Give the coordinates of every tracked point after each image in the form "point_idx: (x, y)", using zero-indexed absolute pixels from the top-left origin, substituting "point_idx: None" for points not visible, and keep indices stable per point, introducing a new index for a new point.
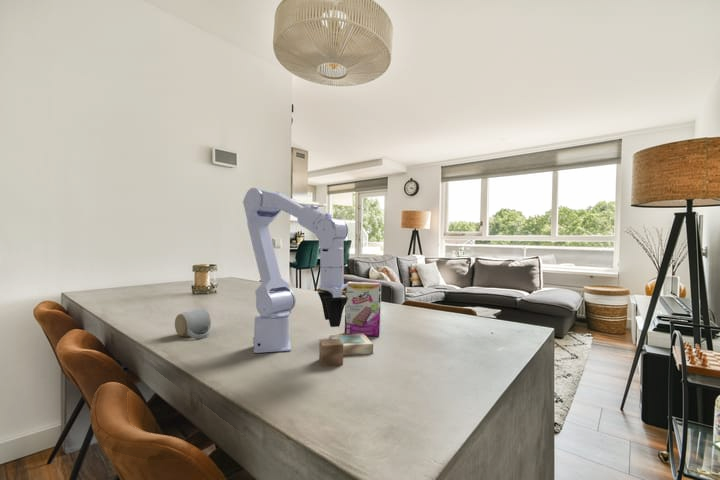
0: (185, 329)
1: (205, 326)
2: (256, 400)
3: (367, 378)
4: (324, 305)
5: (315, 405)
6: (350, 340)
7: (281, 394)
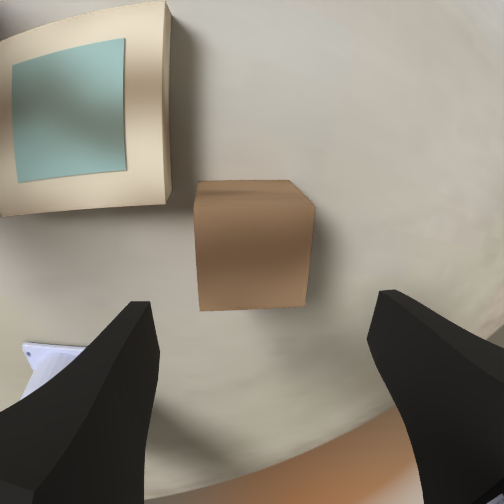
0: None
1: None
2: None
3: (425, 132)
4: (139, 450)
5: (476, 290)
6: (84, 114)
7: None
